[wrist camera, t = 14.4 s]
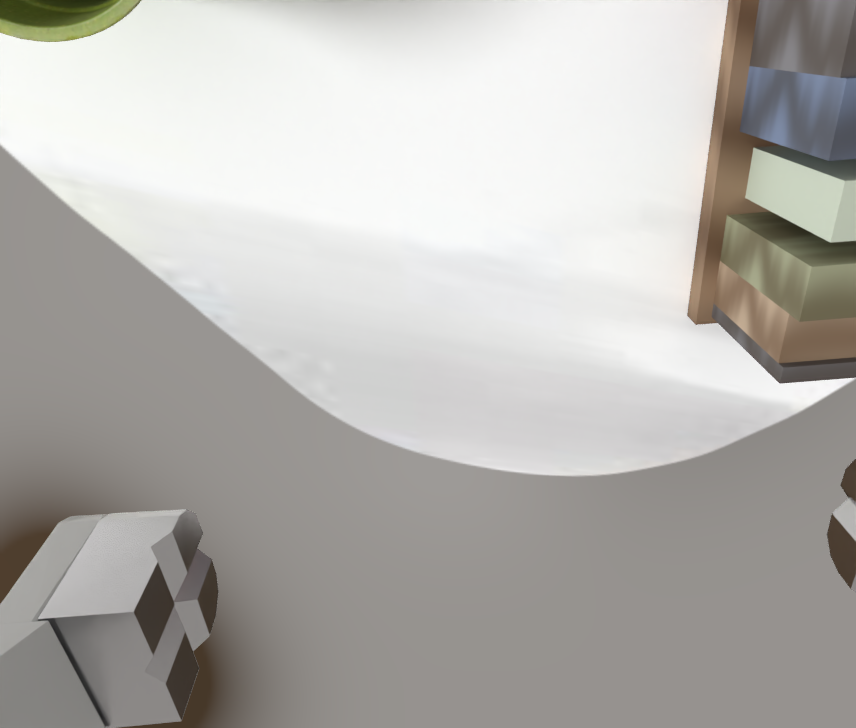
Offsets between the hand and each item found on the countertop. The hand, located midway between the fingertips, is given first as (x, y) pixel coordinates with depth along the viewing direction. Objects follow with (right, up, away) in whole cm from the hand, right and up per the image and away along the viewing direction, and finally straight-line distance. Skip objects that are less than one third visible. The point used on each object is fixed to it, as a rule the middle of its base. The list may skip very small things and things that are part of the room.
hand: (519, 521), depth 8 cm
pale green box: (+21, +14, +30) cm, 39 cm away
